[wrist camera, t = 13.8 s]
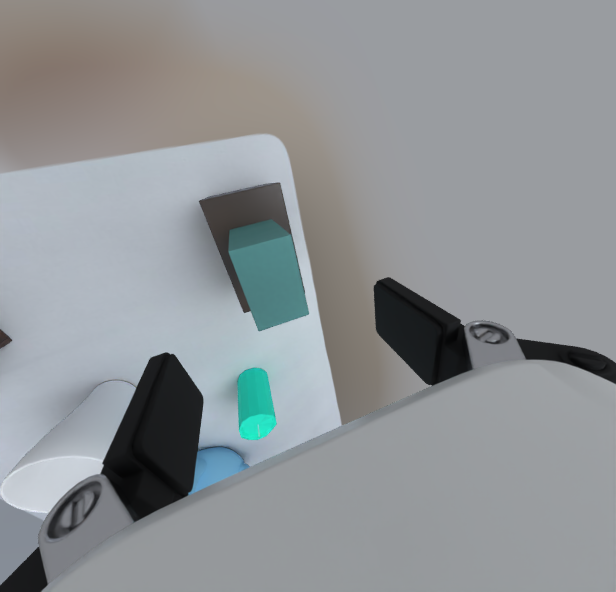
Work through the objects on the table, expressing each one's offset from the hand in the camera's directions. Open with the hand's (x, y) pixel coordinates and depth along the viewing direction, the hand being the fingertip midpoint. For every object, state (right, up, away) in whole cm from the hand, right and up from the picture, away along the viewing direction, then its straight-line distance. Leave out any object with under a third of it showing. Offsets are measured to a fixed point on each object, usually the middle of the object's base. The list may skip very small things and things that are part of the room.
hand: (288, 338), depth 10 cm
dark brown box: (-7, +11, +23) cm, 27 cm away
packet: (-4, +6, +15) cm, 17 cm away
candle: (-10, -15, +35) cm, 39 cm away
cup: (-31, -14, +27) cm, 44 cm away
